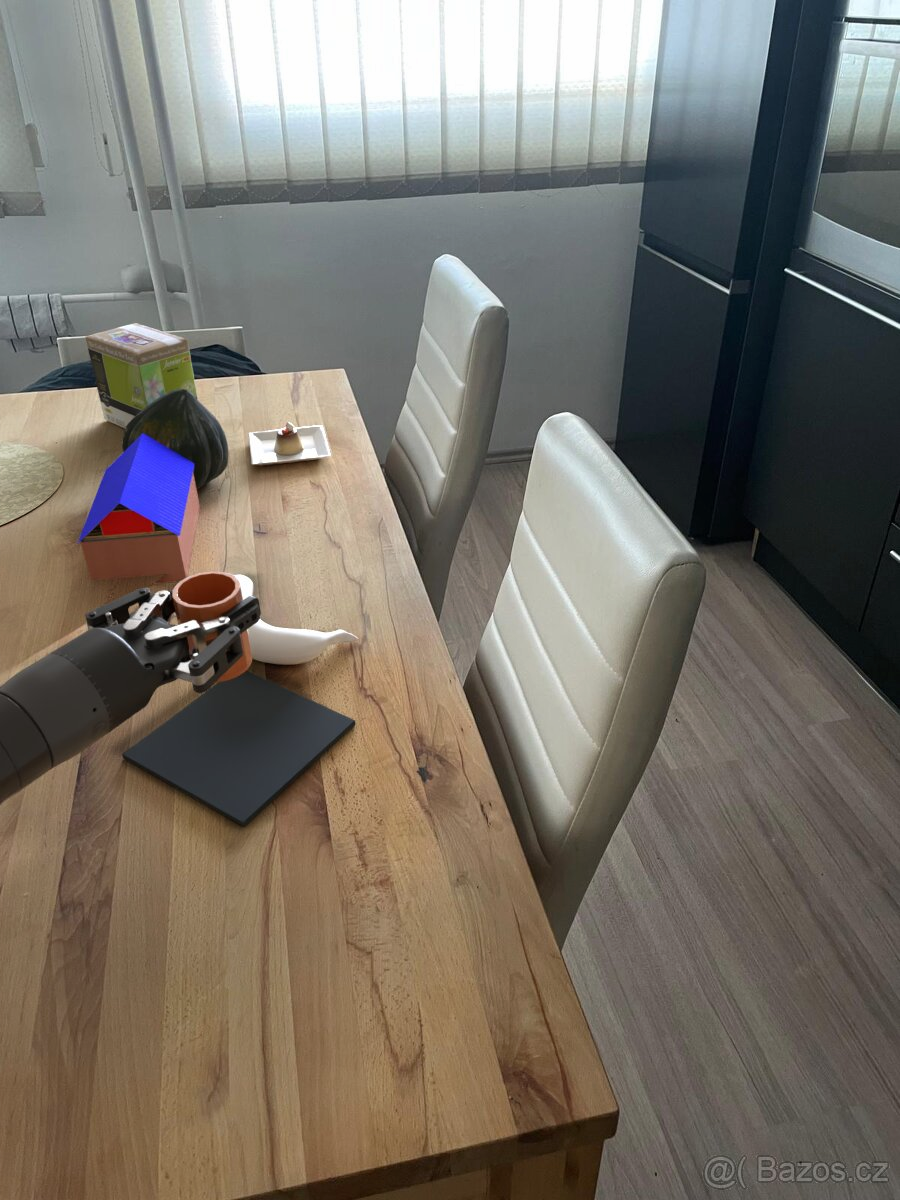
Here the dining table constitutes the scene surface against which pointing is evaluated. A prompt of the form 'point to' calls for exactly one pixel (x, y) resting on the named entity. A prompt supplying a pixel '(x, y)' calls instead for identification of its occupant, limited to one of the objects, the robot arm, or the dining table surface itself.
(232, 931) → the dining table surface
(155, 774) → the mat
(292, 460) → the dessert
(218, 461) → the squash
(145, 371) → the tea box
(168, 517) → the house
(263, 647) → the banana
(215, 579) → the cup
